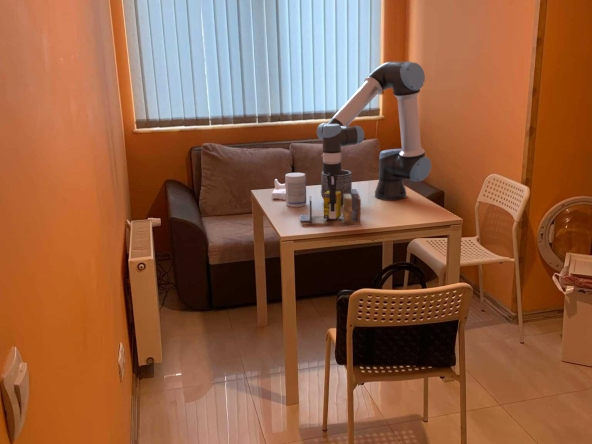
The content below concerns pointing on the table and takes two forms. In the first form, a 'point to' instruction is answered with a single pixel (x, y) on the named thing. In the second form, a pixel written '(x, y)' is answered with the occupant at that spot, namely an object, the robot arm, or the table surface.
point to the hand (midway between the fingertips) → (332, 215)
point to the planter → (338, 183)
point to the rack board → (332, 221)
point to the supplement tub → (295, 189)
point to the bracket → (279, 191)
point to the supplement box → (326, 205)
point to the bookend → (307, 217)
